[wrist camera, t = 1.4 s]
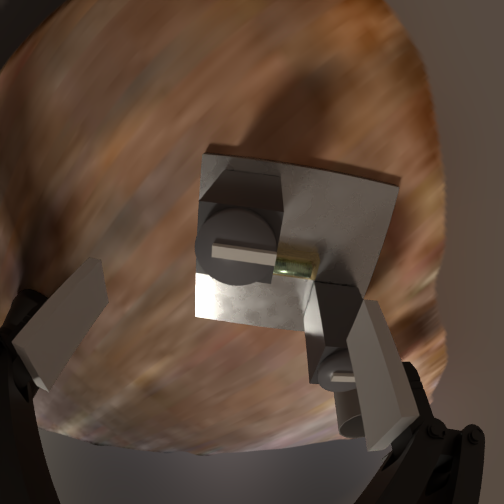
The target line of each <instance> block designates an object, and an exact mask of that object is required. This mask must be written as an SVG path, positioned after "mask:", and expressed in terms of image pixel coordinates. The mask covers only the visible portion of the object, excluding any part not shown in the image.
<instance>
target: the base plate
mask: <svg viewBox="0 0 504 504" xmlns="http://www.w3.org/2000/svg"><path fill="white" fill-rule="evenodd" d="M224 170H231V171H239V172H247V173H255V174H262V175H269V176H276V177H281V186H282V196H283V207H284V215H283V221H282V227H281V232H280V238H279V243H278V248H284V249H291V250H298V251H305V252H312V253H318V254H319V257H320V264H319V268H318V272H317V275H316V279H315V280H308V279H301V278H293V277H286V276H279V275H273V276H272V281H271V284H267V283H260V282H255V283H252V284H249V285H243V286H233V285H227V284H224V283H221V282H219V281H217V280H215V279H213V278H212V277H210V276H209V275H205V274H199V273H196V305H195V316H196V317H202V318H208V319H214V320H220V321H227V322H233V323H240V324H247V325H254V326H262V327H270V328H278V329H286V330H295V331H305V328H304V315H305V312H306V308H307V305H308V302H309V298H310V295H311V291H312V288H313V284H314V282H317V283H325V284H333V285H341V286H349V287H357V288H359V291H360V294H361V296H362V299H363V298H364V296H365V293H366V291H367V288H368V285H369V283H370V280H371V277H372V275H373V272H374V269H375V266H376V263H377V261H378V258H379V255H380V252H381V249H382V246H383V243H384V239H385V236H386V233H387V230H388V227H389V223H390V220H391V217H392V213H393V210H394V206H395V202H396V199H397V195H398V191H399V187H398V186H397V185H394V184H390V183H386V182H382V181H377V180H373V179H369V178H364V177H360V176H355V175H351V174H346V173H341V172H336V171H331V170H326V169H321V168H315V167H310V166H304V165H298V164H292V163H286V162H279V161H273V160H266V159H258V158H251V157H243V156H234V155H225V154H215V153H203V154H202V166H201V180H200V195H199V200H200V199H201V198H202V196H203V195H204V194H205V193H206V191H207V190H208V189H209V188H210V187H211V185H212V184H213V183H214V182H215V180H216V179H217V178H218V177H219V176H220V174H221V173H222V172H223V171H224Z"/></svg>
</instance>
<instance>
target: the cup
mask: <svg viewBox="0 0 504 504" xmlns="http://www.w3.org/2000/svg"><path fill="white" fill-rule="evenodd" d="M334 398H335V405H336V413H337V421H338V429H339V434H340V435H342V436H344V437H347V438H361V437H365V431H364V425H363V420H362V414H361V408H360V403H359V398H358V393H357V388H355V389H353V390H349V391H344V392H334Z"/></svg>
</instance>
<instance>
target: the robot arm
mask: <svg viewBox="0 0 504 504" xmlns="http://www.w3.org/2000/svg"><path fill="white" fill-rule="evenodd" d="M108 303H109V302H108V297H107V292H106V286H105V281H104V275H103V269H102V262H101V259H95V258H90V257H89V258H88V259H87V260H86V261H85V262H84V263H83V264H82V265H81V266H80V267H79V268H78V269H77V270H76V271H75V272H74V273H73V274H72V275H71V276H70V277H69V278H68V279H67V280H66V281H65V282H64V283H63V284H62V285H61V286H60V287H59V288H58V289H57V290H56V292H55V293H54V294H53V295H52V296H51V297H50V298H49V299H47V298H46V297H45V296H43V295H42V294H40V293H38V292H36V291H33V290H23V291H21V292H20V293H19V294H18V295H17V296H16V297H15V298H14V300H13V302H12V304H11V308H10V310H9V312H8V314H7V316H6V319H5V321H4V323H3V325H2V327H1V328H0V504H60V501H59V499H58V496H57V493H56V491H55V488H54V485H53V482H52V479H51V476H50V473H49V470H48V466H47V463H46V459H45V456H44V452H43V448H42V444H41V440H40V436H39V431H38V427H37V422H36V416H35V411H34V405H33V398H34V396H35V394H36V393H37V391H38V389H39V388H42V389H44V390H46V391H48V392H49V391H50V390H51V388H52V386H53V385H54V383H55V381H56V380H57V378H58V376H59V375H60V373H61V372H62V370H63V368H64V367H65V365H66V364H67V362H68V361H69V359H70V358H71V356H72V354H73V353H74V351H75V350H76V348H77V347H78V345H79V344H80V342H81V341H82V339H83V338H84V336H85V335H86V334H87V332H88V331H89V329H90V328H91V326H92V325H93V323H94V322H95V321H96V319H97V318H98V316H99V315H100V314H101V312H102V311H103V309H104V308H105V307H106V305H107V304H108ZM346 341H347V346H348V350H349V354H350V359H351V363H352V368H353V373H354V378H355V383H356V387H357V393H358V398H359V403H360V408H361V414H362V420H363V425H364V431H365V437H366V443H367V450H368V451H376V450H384V449H385V448H387V446H389V445H390V444H391V445H392V451H391V452H390V453H389V454H387V455H386V456H385V457H384V458H383V459H382V460H381V461H382V462H383V461H384V460H385V461H384V463H383V464H382V466H381V467H380V469H379V470H378V472H377V473H376V475H375V476H374V477H373V479H372V480H371V482H370V483H369V484H368V486H367V487H366V489H365V490H364V491H363V493H362V494H361V495H360V497H359V498H358V499H357V500H356V502H355V503H354V504H478V502H479V496H480V489H481V482H482V474H483V464H484V449H485V437H484V433H483V431H482V430H481V429H480V428H479V427H478V426H476V425H473V424H471V425H468V426H466V427H465V428H464V429H463V430H462V431H459V430H453V429H447V428H446V426H445V424H444V423H443V422H442V421H440V420H439V419H436V418H434V416H433V414H432V411H431V408H430V405H429V402H428V399H427V396H426V393H425V391H424V389H423V385H422V382H420V377H419V375H418V372H417V370H416V369H415V367H414V366H413V365H412V364H411V363H410V362H402V361H401V359H400V356H399V353H398V351H397V348H396V345H395V343H394V340H393V338H392V335H391V333H390V330H389V328H388V325H387V323H386V320H385V318H384V316H383V313H382V311H381V308H380V306H379V304H378V301H373V300H364V299H363V302H362V304H361V307H360V309H359V312H358V314H357V317H356V319H355V321H354V324H353V326H352V328H351V331H350V333H349V335H348V337H347V340H346Z"/></svg>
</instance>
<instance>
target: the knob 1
mask: <svg viewBox="0 0 504 504" xmlns="http://www.w3.org/2000/svg"><path fill="white" fill-rule="evenodd" d="M283 215H284V207H283V196H282V186H281V177H276V176H269V175H262V174H255V173H247V172H239V171H231V170H224V171H223V172H222V173H221V174H220V176H219V177H218V178H217V179H216V180H215V182H214V183H213V184H212V185H211V187H210V188H209V189H208V190H207V191H206V193H205V194H204V195H203V196H202V198H201V199H200V200H199V209H198V229H197V237H196V241H195V253H196V273H199V274H205V275H209V276H210V277H212V278H213V279H215V280H217V281H219V282H221V283H224V284H227V285H233V286H243V285H249V284H252V283H255V282H260V283H267V284H271V281H272V276H273V271H274V266H275V262H276V256H277V249H278V243H279V238H280V232H281V227H282V221H283Z"/></svg>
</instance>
